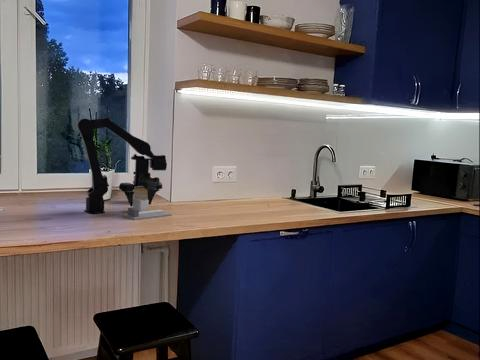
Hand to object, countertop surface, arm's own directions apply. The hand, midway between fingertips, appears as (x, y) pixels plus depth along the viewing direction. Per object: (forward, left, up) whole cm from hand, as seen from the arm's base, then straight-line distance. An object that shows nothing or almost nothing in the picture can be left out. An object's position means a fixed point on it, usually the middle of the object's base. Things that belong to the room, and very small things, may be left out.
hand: (140, 205), depth 192 cm
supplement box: (+12, +17, -3) cm, 21 cm away
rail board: (-2, -9, -3) cm, 9 cm away
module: (0, 0, -3) cm, 3 cm away
